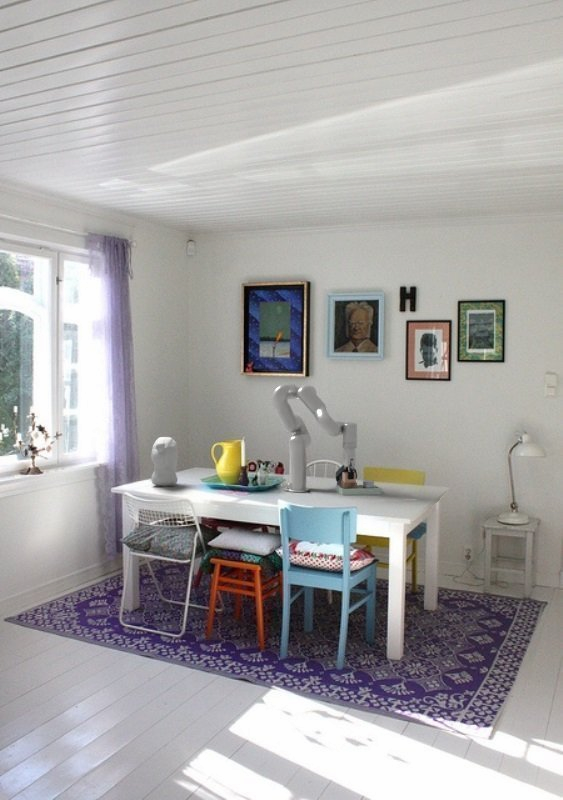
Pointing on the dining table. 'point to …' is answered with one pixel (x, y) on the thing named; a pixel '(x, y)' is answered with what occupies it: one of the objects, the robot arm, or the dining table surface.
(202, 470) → the dining table surface
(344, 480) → the terracotta box
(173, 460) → the bust
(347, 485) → the walnut block
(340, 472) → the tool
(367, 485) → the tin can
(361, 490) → the pale green flat tray
